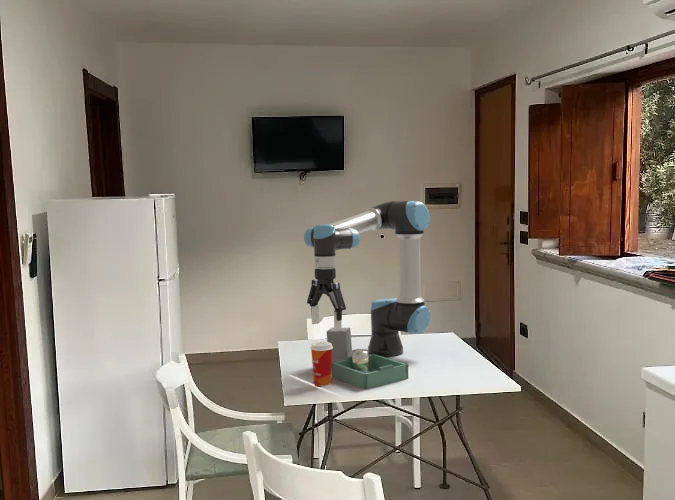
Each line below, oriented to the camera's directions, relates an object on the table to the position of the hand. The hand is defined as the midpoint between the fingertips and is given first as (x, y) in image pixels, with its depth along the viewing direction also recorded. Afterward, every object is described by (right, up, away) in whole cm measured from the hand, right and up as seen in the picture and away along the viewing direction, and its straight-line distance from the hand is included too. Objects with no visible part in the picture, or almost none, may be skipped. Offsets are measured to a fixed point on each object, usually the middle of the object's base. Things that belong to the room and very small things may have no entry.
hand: (326, 326), depth 235 cm
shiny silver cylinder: (+13, -19, +11) cm, 26 cm away
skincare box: (+5, -19, +24) cm, 31 cm away
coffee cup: (-1, -21, +2) cm, 22 cm away
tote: (+16, -20, +7) cm, 27 cm away
